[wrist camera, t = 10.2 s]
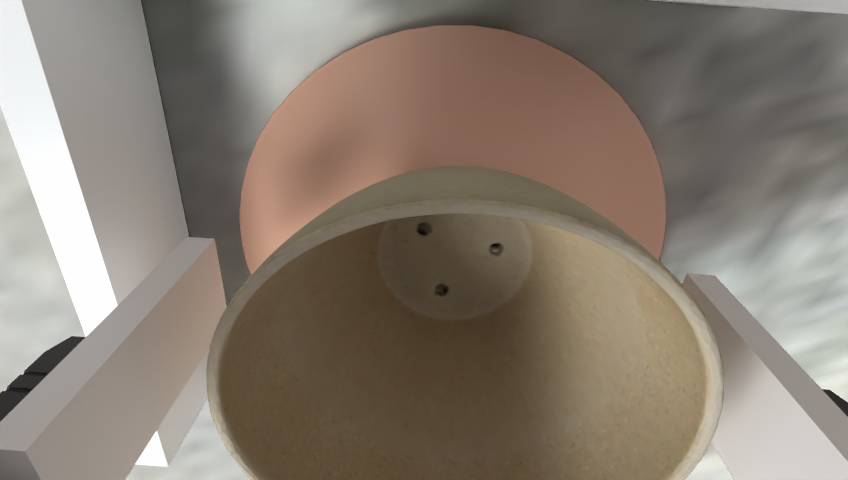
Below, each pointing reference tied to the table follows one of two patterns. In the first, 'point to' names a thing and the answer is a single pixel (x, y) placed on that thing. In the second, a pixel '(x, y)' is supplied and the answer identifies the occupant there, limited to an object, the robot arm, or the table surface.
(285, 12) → the table surface
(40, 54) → the acrylic walls
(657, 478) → the flower pot
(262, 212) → the coaster
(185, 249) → the robot arm
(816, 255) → the table surface
